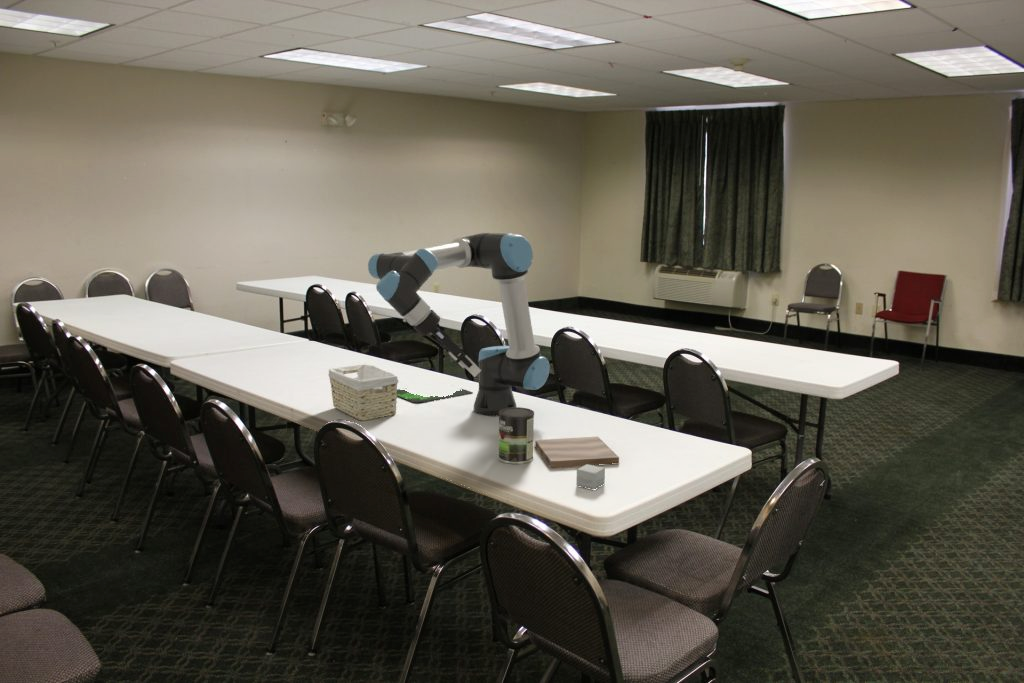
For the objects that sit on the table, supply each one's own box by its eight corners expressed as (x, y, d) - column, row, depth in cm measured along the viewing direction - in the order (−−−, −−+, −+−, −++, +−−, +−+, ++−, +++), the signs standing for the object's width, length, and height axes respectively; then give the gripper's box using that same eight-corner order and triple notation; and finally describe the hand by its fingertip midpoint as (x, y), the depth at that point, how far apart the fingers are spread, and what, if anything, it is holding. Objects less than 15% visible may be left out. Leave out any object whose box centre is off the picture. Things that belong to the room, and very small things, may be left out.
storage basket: (401, 415, 274) (400, 374, 272) (358, 423, 264) (357, 380, 262) (368, 401, 293) (367, 362, 290) (328, 408, 283) (326, 368, 280)
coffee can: (512, 466, 223) (512, 418, 220) (491, 457, 231) (491, 410, 228) (540, 459, 229) (541, 412, 226) (519, 450, 237) (519, 405, 234)
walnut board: (535, 446, 241) (535, 440, 241) (597, 442, 245) (598, 436, 244) (551, 468, 222) (551, 461, 221) (618, 463, 226) (619, 457, 225)
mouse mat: (443, 383, 323) (443, 381, 322) (475, 394, 306) (475, 391, 306) (385, 393, 305) (385, 391, 305) (416, 405, 289) (416, 402, 289)
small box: (605, 485, 209) (605, 467, 208) (594, 491, 205) (595, 473, 204) (586, 480, 212) (586, 463, 212) (575, 486, 208) (576, 469, 207)
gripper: (405, 321, 234) (453, 370, 240) (420, 333, 210) (473, 387, 217) (423, 303, 234) (470, 353, 241) (440, 313, 211) (492, 367, 217)
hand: (471, 369), depth 229 cm, fingers open, 13 cm apart
